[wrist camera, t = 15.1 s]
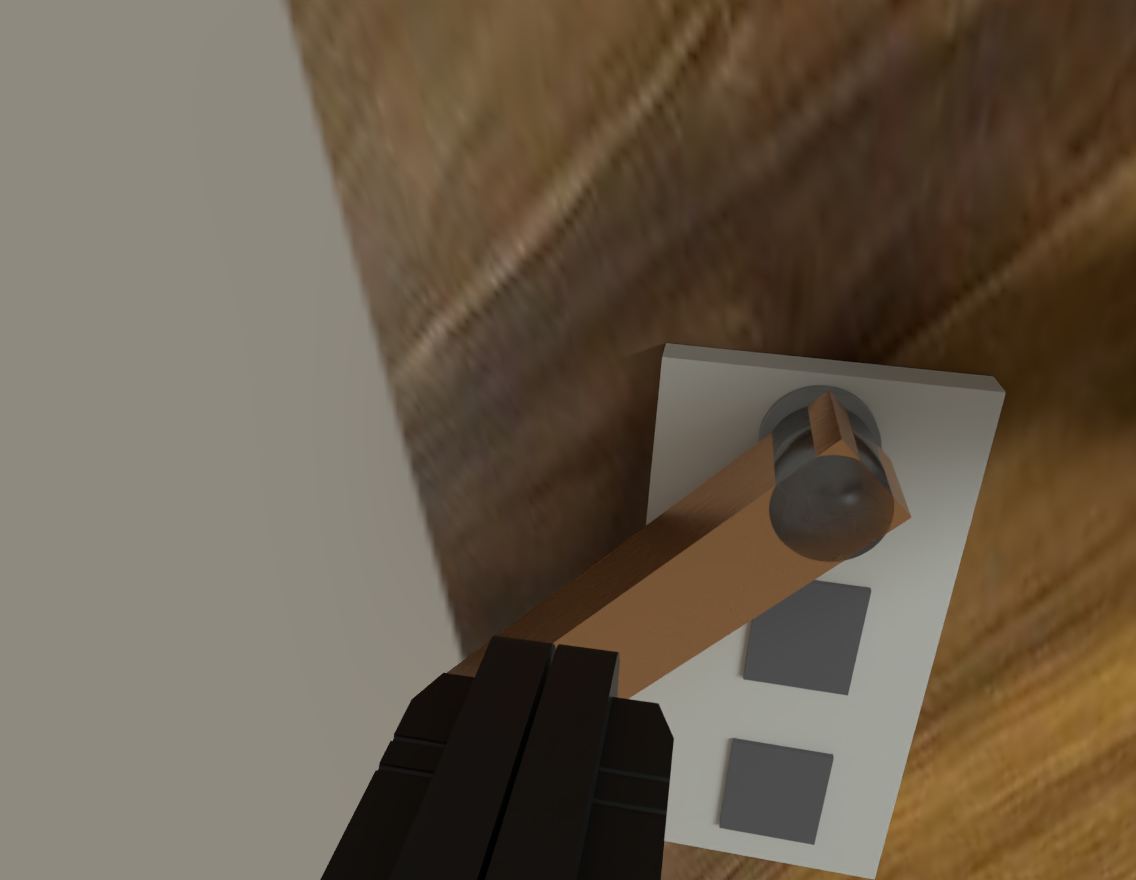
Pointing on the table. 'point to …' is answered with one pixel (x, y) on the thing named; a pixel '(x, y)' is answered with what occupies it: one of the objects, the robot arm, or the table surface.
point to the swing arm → (727, 548)
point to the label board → (815, 611)
